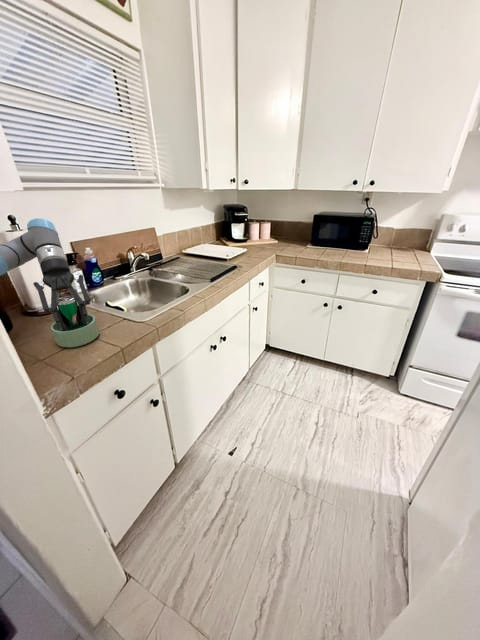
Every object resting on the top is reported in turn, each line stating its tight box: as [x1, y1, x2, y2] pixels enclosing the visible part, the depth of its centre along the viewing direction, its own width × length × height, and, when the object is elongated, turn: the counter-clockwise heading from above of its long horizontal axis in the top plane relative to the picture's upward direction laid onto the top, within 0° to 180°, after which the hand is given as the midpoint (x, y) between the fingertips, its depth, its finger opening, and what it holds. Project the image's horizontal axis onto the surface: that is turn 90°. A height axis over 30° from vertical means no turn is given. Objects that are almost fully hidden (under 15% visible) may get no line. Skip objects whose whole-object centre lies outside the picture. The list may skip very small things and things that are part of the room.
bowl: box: [50, 313, 100, 348], centre depth 84 cm, size 12×12×6 cm
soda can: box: [57, 295, 84, 331], centre depth 81 cm, size 5×5×12 cm
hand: (75, 328), depth 80 cm, fingers closed on soda can, 5 cm apart
